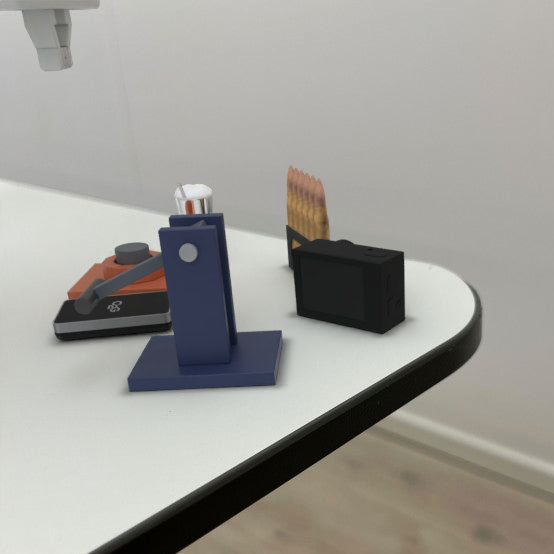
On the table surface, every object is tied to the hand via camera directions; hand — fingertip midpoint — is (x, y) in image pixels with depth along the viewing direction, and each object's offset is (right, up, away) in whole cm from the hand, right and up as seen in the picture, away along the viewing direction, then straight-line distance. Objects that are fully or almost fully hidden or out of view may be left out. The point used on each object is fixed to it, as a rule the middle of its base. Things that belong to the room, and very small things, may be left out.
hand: (57, 70), depth 65 cm
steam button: (+1, -14, +18) cm, 23 cm away
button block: (+1, -17, +20) cm, 26 cm away
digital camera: (+25, -20, +11) cm, 34 cm away
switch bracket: (+13, -25, +2) cm, 28 cm away
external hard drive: (+2, -21, +12) cm, 24 cm away
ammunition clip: (+20, -15, +23) cm, 34 cm away
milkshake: (+6, -12, +31) cm, 34 cm away
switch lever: (+9, -18, -1) cm, 20 cm away
